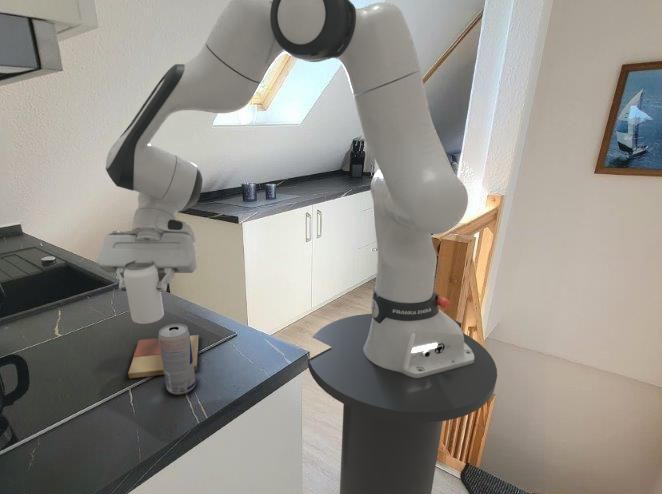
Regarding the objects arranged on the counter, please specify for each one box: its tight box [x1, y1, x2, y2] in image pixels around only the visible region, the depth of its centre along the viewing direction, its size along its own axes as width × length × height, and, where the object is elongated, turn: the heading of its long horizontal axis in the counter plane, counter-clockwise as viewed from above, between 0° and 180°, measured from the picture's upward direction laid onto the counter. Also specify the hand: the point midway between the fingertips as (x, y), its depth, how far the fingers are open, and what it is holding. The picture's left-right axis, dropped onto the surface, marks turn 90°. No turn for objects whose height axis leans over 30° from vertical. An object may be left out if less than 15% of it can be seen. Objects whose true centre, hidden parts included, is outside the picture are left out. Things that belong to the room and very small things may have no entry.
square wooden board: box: [127, 334, 200, 379], centre depth 85 cm, size 13×13×1 cm
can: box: [124, 261, 165, 326], centre depth 83 cm, size 6×6×12 cm
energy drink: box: [157, 323, 197, 396], centre depth 74 cm, size 5×5×12 cm
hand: (142, 290), depth 82 cm, fingers closed on can, 6 cm apart
